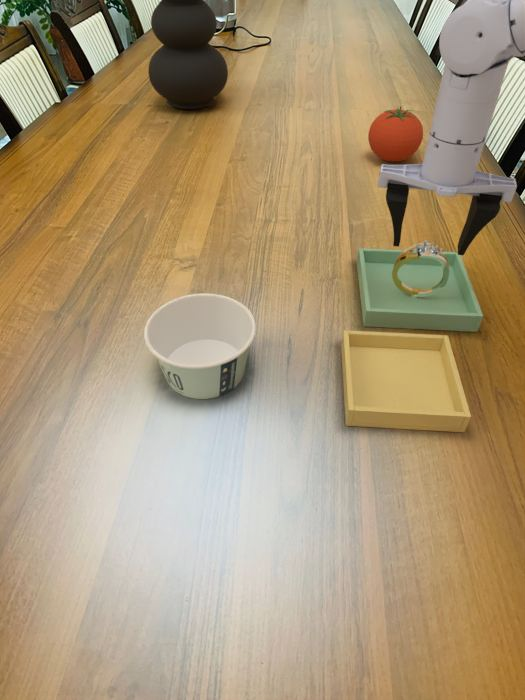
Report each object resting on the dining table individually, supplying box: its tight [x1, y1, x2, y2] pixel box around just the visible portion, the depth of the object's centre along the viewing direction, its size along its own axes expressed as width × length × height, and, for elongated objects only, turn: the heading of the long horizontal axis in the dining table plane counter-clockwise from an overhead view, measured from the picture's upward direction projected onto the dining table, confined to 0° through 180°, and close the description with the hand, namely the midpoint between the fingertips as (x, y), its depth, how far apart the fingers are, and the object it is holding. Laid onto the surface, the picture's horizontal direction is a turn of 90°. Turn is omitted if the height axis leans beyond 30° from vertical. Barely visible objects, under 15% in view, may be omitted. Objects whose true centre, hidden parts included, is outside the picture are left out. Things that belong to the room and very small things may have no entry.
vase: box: [148, 0, 229, 110], centre depth 112 cm, size 18×18×35 cm
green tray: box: [356, 247, 484, 333], centre depth 68 cm, size 14×14×3 cm
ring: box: [392, 239, 449, 298], centre depth 65 cm, size 7×3×8 cm, turn 70°
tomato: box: [367, 106, 424, 163], centre depth 98 cm, size 10×10×10 cm
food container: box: [143, 292, 257, 400], centre depth 57 cm, size 12×12×6 cm
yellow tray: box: [340, 329, 472, 433], centre depth 56 cm, size 12×12×3 cm
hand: (428, 246), depth 63 cm, fingers open, 7 cm apart
